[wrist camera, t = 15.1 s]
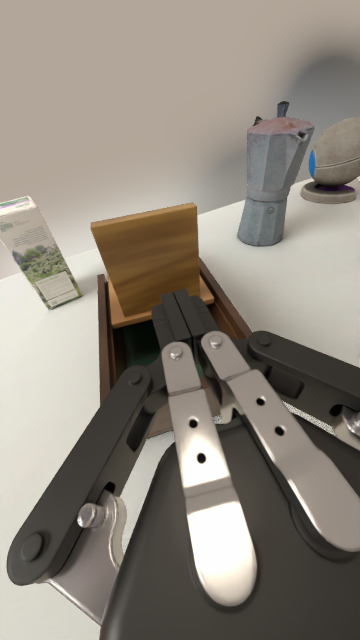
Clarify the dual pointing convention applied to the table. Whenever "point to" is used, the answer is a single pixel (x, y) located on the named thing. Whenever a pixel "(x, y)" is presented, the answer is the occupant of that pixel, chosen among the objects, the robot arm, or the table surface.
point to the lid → (149, 260)
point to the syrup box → (36, 252)
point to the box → (155, 343)
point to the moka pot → (271, 174)
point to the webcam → (334, 163)
